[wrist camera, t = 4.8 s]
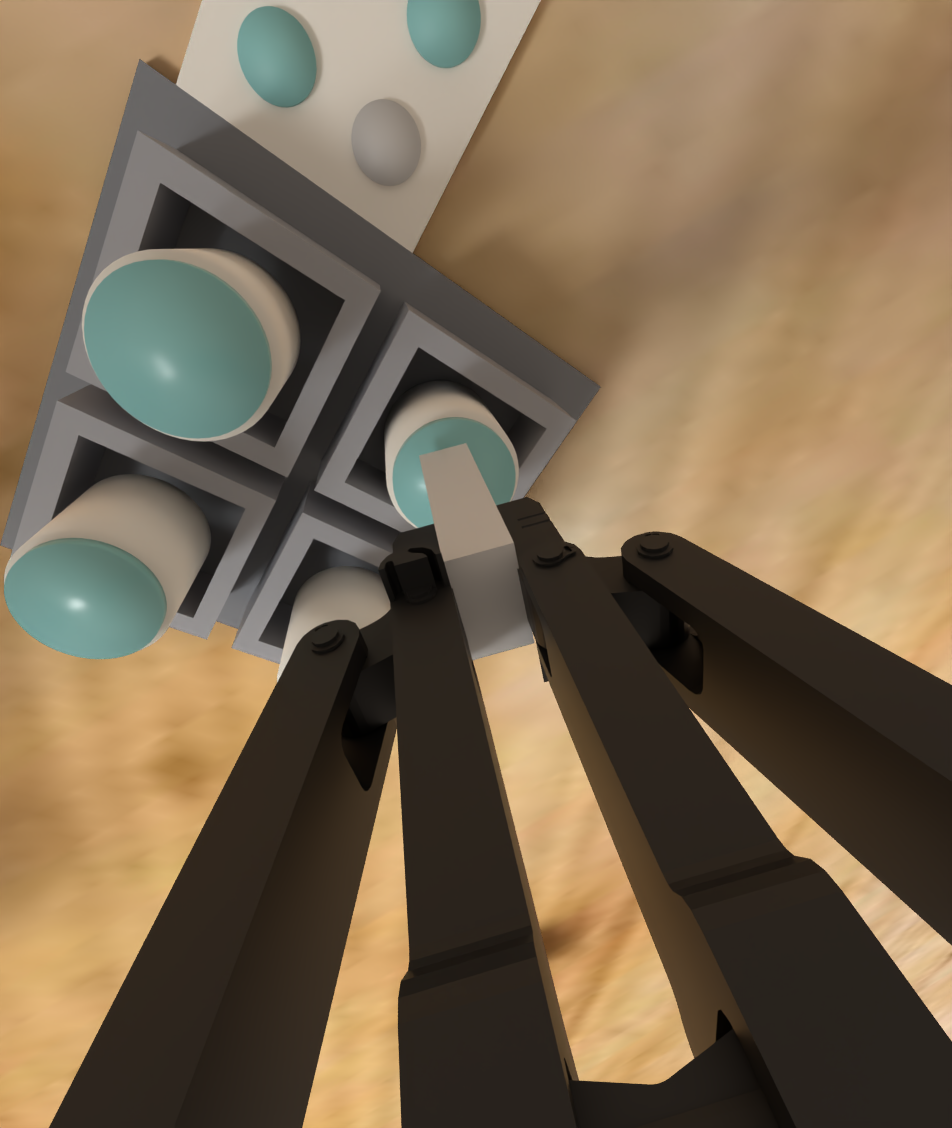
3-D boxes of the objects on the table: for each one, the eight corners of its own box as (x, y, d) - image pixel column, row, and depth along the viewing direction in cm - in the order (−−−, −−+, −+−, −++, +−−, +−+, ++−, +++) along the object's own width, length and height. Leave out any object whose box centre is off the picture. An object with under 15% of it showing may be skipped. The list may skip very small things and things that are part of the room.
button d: (62, 553, 20) (-20, 633, 16) (96, 451, 18) (15, 511, 14) (187, 598, 21) (143, 681, 17) (229, 508, 20) (191, 577, 16)
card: (179, 88, 16) (173, 83, 16) (288, -258, 14) (285, -277, 13) (412, 252, 19) (412, 253, 19) (539, 0, 17) (545, -8, 16)
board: (5, 540, 22) (-53, 587, 19) (144, 62, 16) (89, 19, 13) (393, 678, 29) (396, 729, 26) (597, 384, 23) (631, 406, 20)
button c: (129, 354, 17) (51, 389, 13) (178, 213, 15) (105, 202, 11) (268, 424, 19) (238, 475, 14) (323, 304, 17) (307, 323, 13)
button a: (364, 457, 21) (362, 507, 17) (419, 357, 20) (431, 386, 16) (457, 506, 23) (475, 561, 19) (515, 417, 22) (547, 457, 18)
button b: (276, 630, 23) (254, 714, 19) (321, 548, 21) (308, 621, 17) (370, 664, 24) (369, 748, 20) (418, 591, 23) (428, 666, 19)
